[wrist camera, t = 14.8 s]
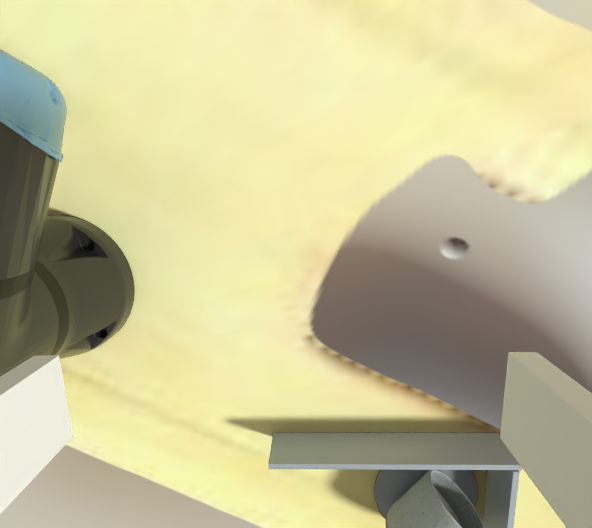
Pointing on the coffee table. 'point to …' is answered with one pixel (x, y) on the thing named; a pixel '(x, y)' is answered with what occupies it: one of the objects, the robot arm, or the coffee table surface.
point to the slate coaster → (400, 481)
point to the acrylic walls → (410, 459)
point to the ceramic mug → (433, 505)
